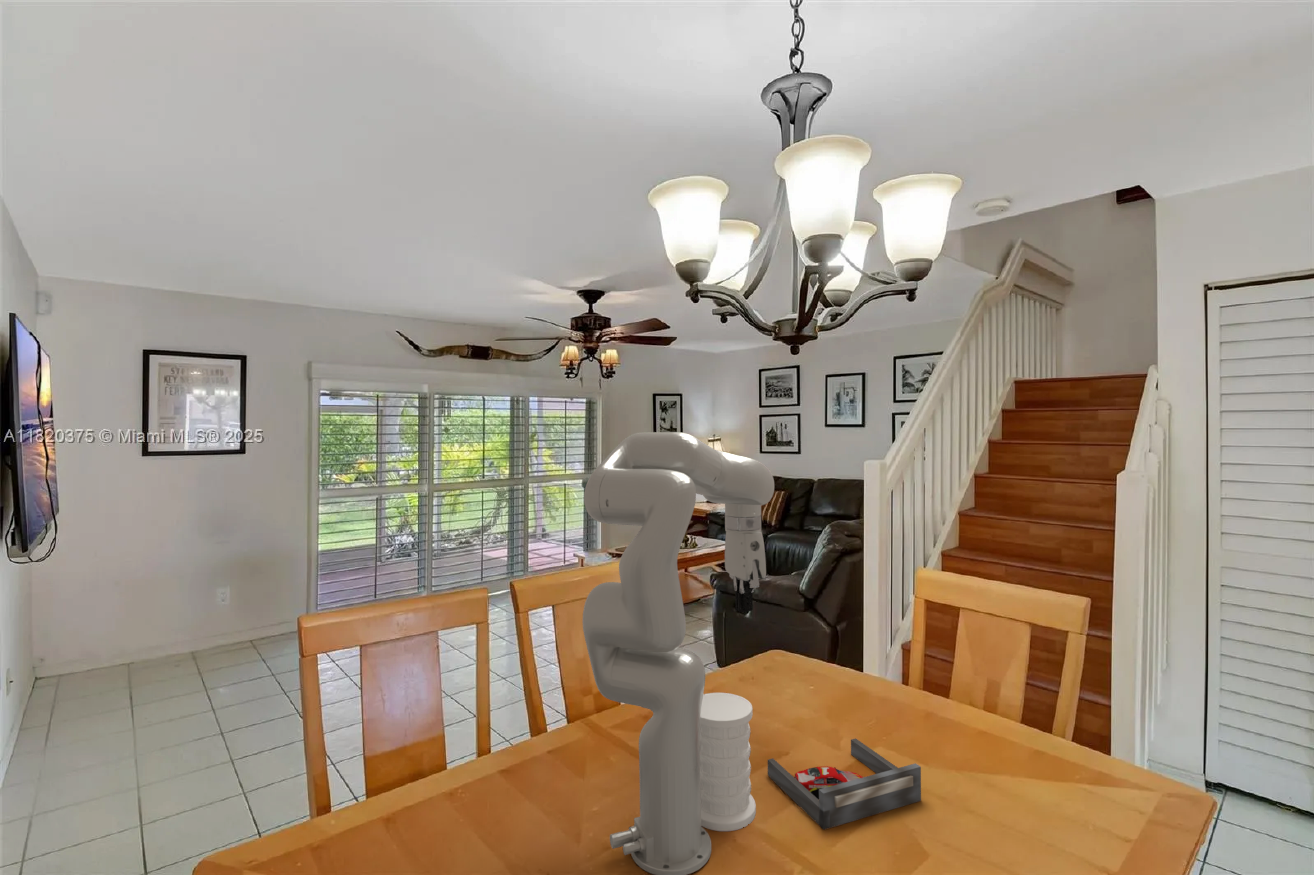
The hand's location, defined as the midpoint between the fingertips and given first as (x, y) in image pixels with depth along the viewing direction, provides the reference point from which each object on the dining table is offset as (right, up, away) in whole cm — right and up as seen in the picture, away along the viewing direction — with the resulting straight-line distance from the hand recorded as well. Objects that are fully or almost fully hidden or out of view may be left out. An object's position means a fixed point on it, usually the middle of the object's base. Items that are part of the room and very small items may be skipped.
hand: (744, 610), depth 131 cm
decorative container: (-7, -28, -24) cm, 37 cm away
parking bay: (+15, -27, -17) cm, 36 cm away
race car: (+13, -28, -19) cm, 36 cm away
